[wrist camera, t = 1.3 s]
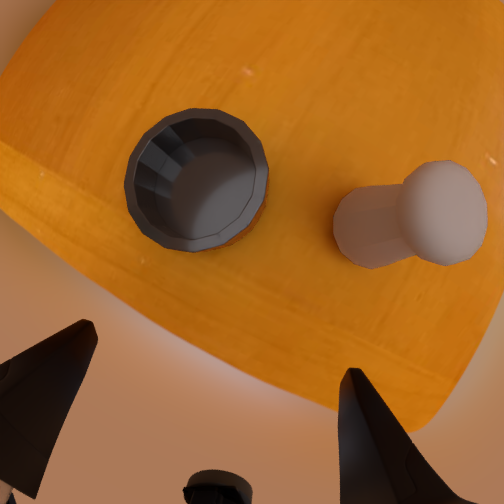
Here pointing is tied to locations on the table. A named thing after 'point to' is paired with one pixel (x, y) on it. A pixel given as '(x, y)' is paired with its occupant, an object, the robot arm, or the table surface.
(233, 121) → the holder
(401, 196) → the salt shaker
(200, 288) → the table surface
